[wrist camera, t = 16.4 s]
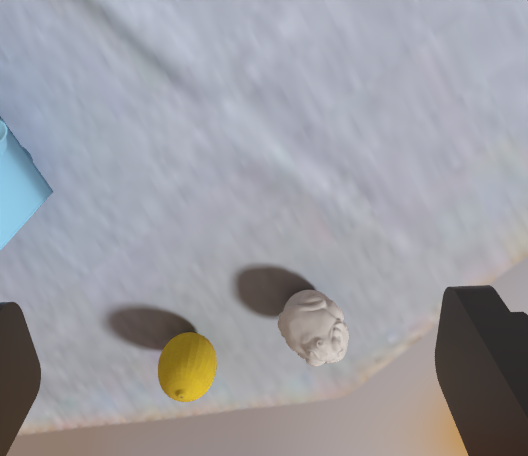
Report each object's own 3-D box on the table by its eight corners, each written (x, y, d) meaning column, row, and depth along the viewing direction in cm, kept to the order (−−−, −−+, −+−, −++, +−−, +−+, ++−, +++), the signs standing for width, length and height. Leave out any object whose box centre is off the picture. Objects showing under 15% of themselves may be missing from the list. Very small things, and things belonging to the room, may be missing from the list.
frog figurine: (311, 338, 52) (317, 389, 46) (262, 300, 50) (262, 348, 44) (355, 303, 50) (368, 352, 44) (306, 262, 48) (312, 307, 42)
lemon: (156, 327, 52) (138, 386, 45) (204, 309, 51) (194, 366, 44) (182, 364, 54) (170, 426, 47) (228, 348, 53) (223, 408, 46)
